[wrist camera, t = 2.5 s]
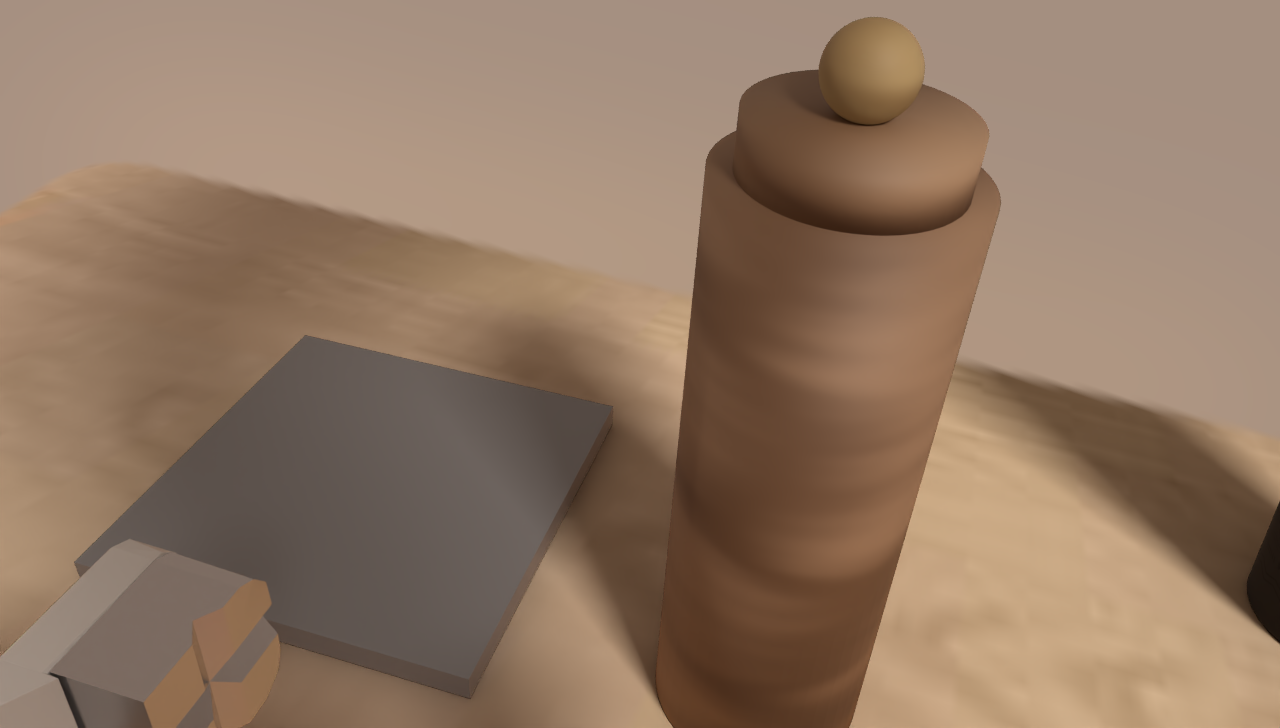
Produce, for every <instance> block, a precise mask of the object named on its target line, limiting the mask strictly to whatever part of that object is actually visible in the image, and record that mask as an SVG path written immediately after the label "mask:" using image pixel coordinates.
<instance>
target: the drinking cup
mask: <svg viewBox="0 0 1280 728" xmlns="http://www.w3.org/2000/svg"><path fill="white" fill-rule="evenodd" d="M1247 593H1248V598H1249V601H1250V604H1251V606H1252V608H1253V610H1254V612H1255V614H1256V615H1257V617H1258V618H1259V620H1260V621H1261V623H1262V624H1263V625H1264V626H1265V627H1266V629H1267V630H1268V631H1269V632H1270V633H1271V634H1272V635H1273V636H1274V637H1275V638H1276V639H1277V640H1279V641H1280V502H1279V504H1278V507H1277V509H1276V512H1275V514H1274V516H1273V519H1272V521H1271V524H1270V526H1269V529H1268V531H1267V533H1266V536H1265V538H1264V541H1263V543H1262V545H1261V548H1260V550H1259V553H1258V555H1257V558H1256V560H1255V562H1254V565H1253V567H1252V570H1251V572H1250V574H1249V577H1248V581H1247Z"/></svg>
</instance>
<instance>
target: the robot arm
mask: <svg viewBox="0 0 1280 728" xmlns="http://www.w3.org/2000/svg"><path fill="white" fill-rule="evenodd" d="M271 605H272V603H271V599H270V595H269V591H268V588H267V584H266V582H265V581H262V580H259V579H256V578H252V577H249V576H246V575H243V574H240V573H236V572H233V571H230V570H227V569H224V568H221V567H217V566H214V565H211V564H208V563H205V562H202V561H198V560H195V559H192V558H189V557H186V556H183V555H179V554H177V553H175V552H172V551H168V550H165V549H162V548H158V547H155V546H151V545H148V544H145V543H141V542H138V541H135V540H131V539H128V540H126V541H124V542H122V543H120V544H118V545H115V546H113V547H112V548H110V549H109V550H108V551H107V552H106V553H105V554H104V555H103V556H102V557H101V558H100V559H99V560H98V561H97V562H96V563H95V564H94V565H93V566H92V567H91V568H90V569H89V570H88V571H87V572H86V573H85V574H83V575H82V576H81V577H80V578H79V579H78V580H77V581H76V582H75V583H74V584H73V585H72V586H71V587H70V588H69V589H68V590H67V591H66V592H65V593H64V594H63V595H62V596H61V597H60V598H59V599H58V600H57V601H56V602H55V603H54V604H53V605H52V606H51V607H50V608H49V609H48V610H47V611H46V612H45V613H44V614H43V615H42V616H41V617H40V618H39V619H38V620H37V621H36V622H35V623H34V624H33V625H32V626H31V627H30V628H29V629H28V630H27V631H26V632H25V633H24V634H23V635H22V636H21V637H19V638H18V639H17V640H16V641H15V642H14V643H13V644H12V645H11V646H10V647H9V648H8V649H7V650H6V651H5V652H4V653H3V654H2V655H1V656H0V728H240V727H242V726H244V725H246V724H248V723H250V722H251V721H252V719H253V718H254V717H255V715H256V714H257V712H258V711H259V709H260V708H261V706H262V705H263V703H264V702H265V700H266V699H267V697H268V695H269V692H270V690H271V687H272V685H273V682H274V680H275V678H276V675H277V673H278V670H279V661H280V652H281V648H280V643H279V637H278V633H277V632H276V631H275V629H274V628H273V627H272V626H271V625H270V624H269V622H268V621H267V620H266V619H265V618H264V617H263V615H264V614H265V612H266V611H267V610H268V608H269V607H270V606H271Z"/></svg>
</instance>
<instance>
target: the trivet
mask: <svg viewBox="0 0 1280 728" xmlns="http://www.w3.org/2000/svg"><path fill="white" fill-rule="evenodd" d="M612 418H613V406H608V405H604V404H600V403H595V402H591V401H587V400H582V399H578V398H574V397H569V396H565V395H561V394H557V393H552V392H548V391H544V390H539V389H535V388H531V387H526V386H522V385H518V384H513V383H509V382H505V381H501V380H496V379H492V378H488V377H483V376H479V375H475V374H470V373H466V372H462V371H457V370H453V369H449V368H445V367H440V366H436V365H432V364H427V363H423V362H419V361H414V360H410V359H406V358H401V357H397V356H393V355H389V354H384V353H380V352H376V351H371V350H367V349H363V348H358V347H354V346H350V345H345V344H341V343H337V342H333V341H328V340H324V339H320V338H315V337H311V336H307V335H305V336H304V337H303V338H302V339H301V340H300V341H299V342H298V343H297V344H296V345H295V346H294V347H293V348H292V349H291V350H290V351H289V352H288V353H287V354H286V355H285V356H284V357H283V358H282V359H281V360H280V361H279V362H278V363H277V364H276V365H275V366H274V367H273V368H272V369H270V370H269V371H268V372H267V373H266V374H265V375H264V376H263V377H262V378H261V379H260V380H259V381H258V382H257V383H256V384H255V385H254V386H253V387H252V388H251V389H250V390H249V391H248V392H247V393H246V394H245V395H244V396H243V397H242V398H241V399H240V400H239V401H238V402H237V403H236V404H235V405H234V406H233V407H232V408H231V409H230V410H229V411H228V412H227V413H226V414H225V415H224V416H223V417H222V418H221V419H220V420H219V421H218V422H216V423H215V424H214V425H213V426H212V427H211V428H210V429H209V430H208V431H207V432H206V433H205V434H204V435H203V436H202V437H201V438H200V439H199V440H198V441H197V442H196V443H195V444H194V445H193V446H192V447H191V448H190V449H189V450H188V451H187V452H186V453H185V454H184V455H183V456H182V457H181V458H180V459H179V460H178V461H177V462H176V463H175V464H174V465H173V466H172V467H171V468H170V469H169V470H168V471H167V472H166V473H165V474H164V475H163V476H161V477H160V478H159V479H158V480H157V481H156V482H155V483H154V484H153V485H152V486H151V487H150V488H149V489H148V490H147V491H146V492H145V493H144V494H143V495H142V496H141V497H140V498H139V499H138V500H137V501H136V502H135V503H134V504H133V505H132V506H131V507H130V508H129V509H128V510H127V511H126V512H125V513H124V514H123V515H122V516H121V517H120V518H119V519H118V520H117V521H116V522H115V523H114V524H113V525H112V526H111V527H110V528H109V529H107V530H106V531H105V532H104V533H103V534H102V535H101V536H100V537H99V538H98V539H97V540H96V541H95V542H94V543H93V544H92V545H91V546H90V547H89V548H88V549H87V550H86V551H85V552H84V553H83V554H82V555H81V556H80V557H79V558H78V559H77V560H76V561H75V562H74V563H75V566H76V568H77V571H78V574H79V576H80V577H81V576H82V575H83V574H85V573H86V572H87V571H88V570H89V569H90V568H91V567H92V566H93V565H94V564H95V563H96V562H97V561H98V560H99V559H100V558H101V557H102V556H103V555H104V554H105V553H106V552H107V551H108V550H109V549H110V548H112V547H113V546H115V545H118V544H120V543H122V542H124V541H126V540H128V539H131V540H135V541H138V542H141V543H145V544H148V545H151V546H155V547H158V548H162V549H165V550H168V551H172V552H175V553H177V554H179V555H183V556H186V557H189V558H192V559H195V560H198V561H202V562H205V563H208V564H211V565H214V566H217V567H221V568H224V569H227V570H230V571H233V572H236V573H240V574H243V575H246V576H249V577H252V578H256V579H259V580H262V581H265V582H266V584H267V588H268V591H269V595H270V599H271V603H272V605H271V606H270V607H269V608H268V610H267V611H266V612H265V614H264V615H263V617H264V618H265V619H266V620H267V621H268V622H269V624H270V625H271V626H272V627H273V628H274V629H275V631H276V632H277V633H278V637H279V641H280V642H283V643H287V644H290V645H293V646H297V647H300V648H303V649H307V650H310V651H313V652H317V653H320V654H323V655H327V656H330V657H333V658H337V659H340V660H343V661H347V662H350V663H353V664H357V665H360V666H363V667H366V668H370V669H373V670H376V671H380V672H383V673H386V674H390V675H393V676H396V677H400V678H403V679H406V680H410V681H413V682H416V683H420V684H423V685H426V686H430V687H433V688H436V689H440V690H443V691H446V692H450V693H453V694H456V695H460V696H463V697H466V698H469V699H470V698H471V696H472V694H473V692H474V690H475V688H476V686H477V684H478V682H479V680H480V679H481V677H482V675H483V673H484V671H485V669H486V667H487V665H488V663H489V661H490V659H491V657H492V655H493V653H494V652H495V650H496V648H497V646H498V644H499V642H500V640H501V638H502V636H503V634H504V632H505V630H506V628H507V626H508V624H509V623H510V621H511V619H512V617H513V615H514V613H515V611H516V609H517V607H518V605H519V603H520V601H521V599H522V597H523V596H524V594H525V592H526V590H527V588H528V586H529V584H530V582H531V580H532V578H533V576H534V574H535V572H536V570H537V569H538V567H539V565H540V563H541V561H542V559H543V557H544V555H545V553H546V551H547V549H548V547H549V545H550V543H551V542H552V540H553V538H554V536H555V534H556V532H557V530H558V528H559V526H560V524H561V522H562V520H563V518H564V516H565V515H566V513H567V511H568V509H569V507H570V505H571V503H572V501H573V499H574V497H575V495H576V493H577V491H578V489H579V487H580V486H581V484H582V482H583V480H584V478H585V476H586V474H587V472H588V470H589V468H590V466H591V464H592V462H593V460H594V459H595V457H596V455H597V453H598V451H599V449H600V447H601V445H602V443H603V441H604V439H605V437H606V435H607V433H608V432H609V430H610V428H611V426H612Z"/></svg>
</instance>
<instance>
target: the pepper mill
mask: <svg viewBox="0 0 1280 728" xmlns="http://www.w3.org/2000/svg"><path fill="white" fill-rule="evenodd" d="M924 73H925V63H924V56H923V53H922V49H921V47H920V45H919V43H918V41H917V40H916V38H915V37H914V35H913V34H912V33H911V32H910V31H909V30H908V29H907V28H905V27H904V26H903V25H901V24H899V23H897V22H896V21H893V20H890V19H887V18H881V17H868V18H863V19H859V20H856V21H854V22H851V23H849V24H848V25H846V26H844V27H843V28H842V29H840V30H839V31H838V32H837V33H836V34H835V35H834V36H833V37H832V38H831V40H830V41H829V42H828V44H827V45H826V47H825V49H824V51H823V54H822V56H821V60H820V64H819V70H807V71H798V72H790V73H785V74H781V75H777V76H773V77H769V78H767V79H765V80H762V81H760V82H758V83H756V84H754V85H753V86H751V87H750V88H749V89H747V90H746V91H745V93H744V94H743V95H742V97H741V100H740V104H739V113H738V121H737V130H736V131H735V132H733V133H731V134H729V135H727V136H726V137H724V138H722V139H721V140H720V141H719V142H718V143H716V144H715V145H714V147H713V148H712V149H711V150H710V152H709V154H708V156H707V159H706V166H705V177H704V186H703V198H702V207H701V217H700V227H699V228H700V229H699V237H698V248H697V258H696V268H695V279H694V289H693V298H692V309H691V319H690V329H689V339H688V349H687V360H686V370H685V380H684V390H683V400H682V410H681V421H680V431H679V441H678V451H677V461H676V471H675V482H674V492H673V502H672V512H671V522H670V533H669V543H668V553H667V563H666V573H665V583H664V594H663V604H662V614H661V624H660V634H659V644H658V655H657V665H656V675H655V677H656V689H657V694H658V698H659V701H660V703H661V706H662V709H663V711H664V713H665V714H666V716H667V718H668V720H669V721H670V723H671V724H672V725H673V727H674V728H849V726H850V724H851V721H852V719H853V715H854V712H855V708H856V705H857V701H858V698H859V695H860V691H861V688H862V684H863V681H864V677H865V674H866V670H867V667H868V663H869V660H870V657H871V653H872V650H873V646H874V643H875V639H876V636H877V632H878V629H879V625H880V622H881V619H882V615H883V612H884V608H885V605H886V601H887V598H888V594H889V591H890V587H891V584H892V581H893V577H894V574H895V570H896V567H897V563H898V560H899V556H900V553H901V549H902V546H903V543H904V539H905V536H906V532H907V529H908V525H909V522H910V518H911V515H912V511H913V508H914V504H915V501H916V498H917V494H918V491H919V487H920V484H921V480H922V477H923V473H924V470H925V466H926V463H927V460H928V456H929V453H930V449H931V446H932V442H933V439H934V435H935V432H936V428H937V425H938V422H939V418H940V415H941V411H942V408H943V404H944V401H945V397H946V394H947V390H948V387H949V384H950V380H951V377H952V373H953V370H954V366H955V363H956V359H957V356H958V352H959V349H960V345H961V342H962V338H963V335H964V332H965V328H966V325H967V321H968V318H969V314H970V311H971V308H972V304H973V301H974V297H975V294H976V290H977V287H978V283H979V280H980V276H981V273H982V269H983V266H984V263H985V259H986V256H987V252H988V249H989V245H990V242H991V238H992V235H993V232H994V228H995V225H996V221H997V218H998V214H999V211H1000V205H1001V200H1000V193H999V191H998V188H997V186H996V184H995V183H994V181H993V180H992V178H991V177H990V176H989V175H988V174H987V173H986V172H985V171H984V170H983V169H982V168H981V165H982V162H983V158H984V154H985V151H986V147H987V143H988V139H989V129H988V127H987V125H986V123H985V121H984V120H983V118H982V117H981V116H980V115H979V114H978V113H977V112H976V111H975V110H974V109H972V108H971V107H969V106H968V105H967V104H965V103H964V102H962V101H960V100H959V99H957V98H955V97H953V96H951V95H949V94H947V93H944V92H942V91H939V90H937V89H935V88H932V87H929V86H926V85H923V84H922V83H923V80H924Z"/></svg>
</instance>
